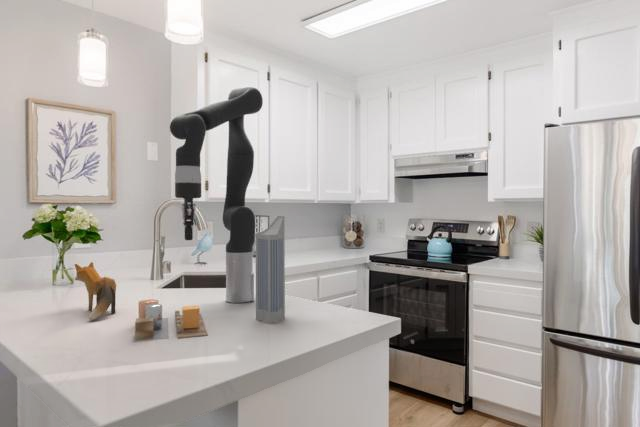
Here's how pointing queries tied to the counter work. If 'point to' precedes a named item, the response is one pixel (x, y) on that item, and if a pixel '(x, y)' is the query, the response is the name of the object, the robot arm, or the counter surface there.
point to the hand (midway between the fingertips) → (188, 239)
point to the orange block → (190, 316)
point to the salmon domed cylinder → (143, 306)
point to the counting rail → (189, 331)
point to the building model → (270, 273)
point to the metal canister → (155, 314)
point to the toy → (97, 290)
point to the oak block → (144, 328)
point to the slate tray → (157, 332)
